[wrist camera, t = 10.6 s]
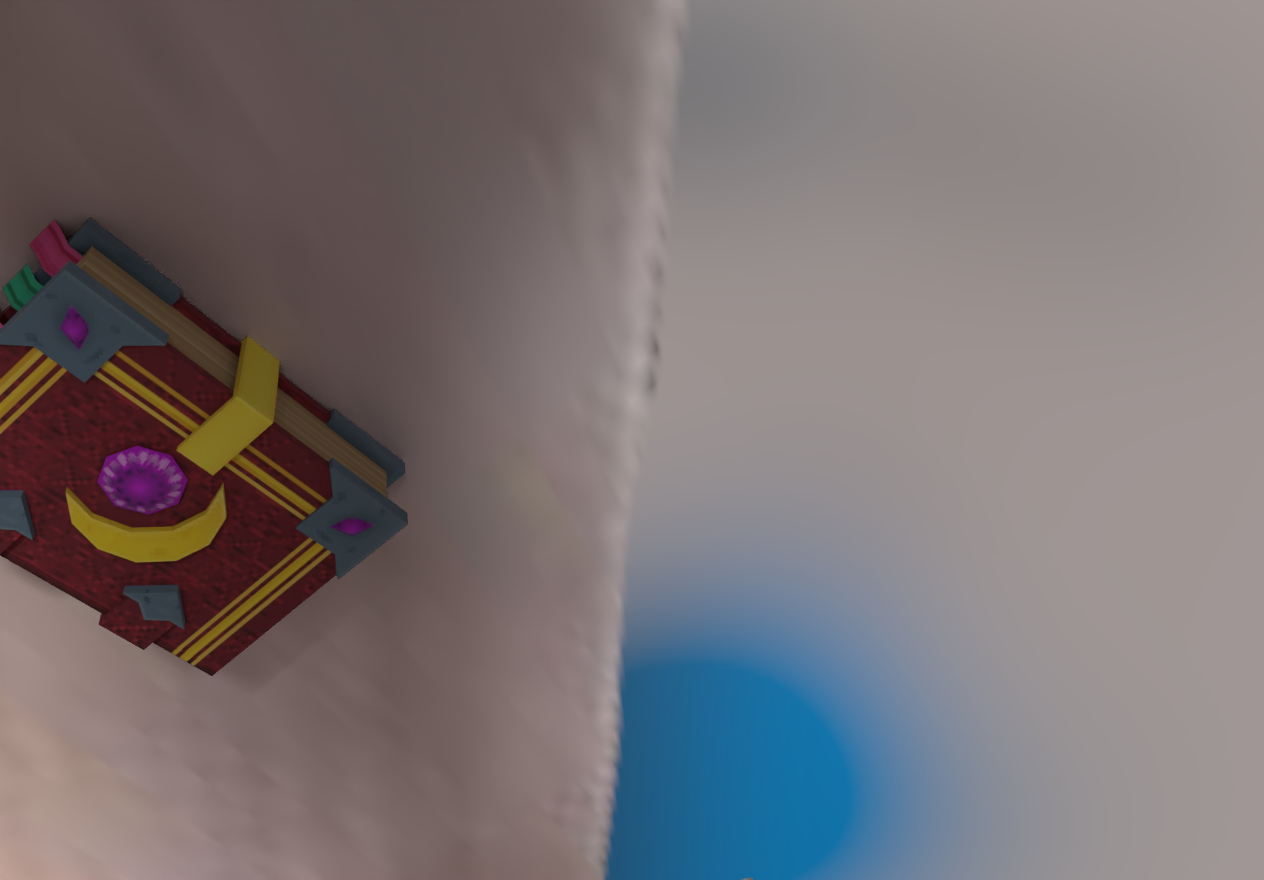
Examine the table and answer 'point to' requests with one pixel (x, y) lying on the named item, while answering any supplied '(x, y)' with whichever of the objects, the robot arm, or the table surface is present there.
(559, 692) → the table surface
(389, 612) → the table surface
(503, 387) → the table surface
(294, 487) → the decorative book
